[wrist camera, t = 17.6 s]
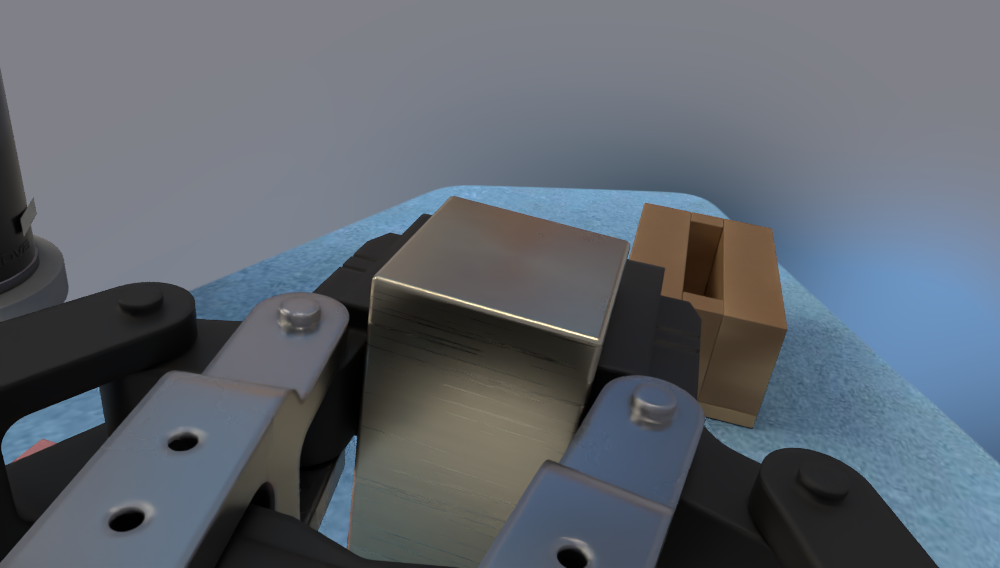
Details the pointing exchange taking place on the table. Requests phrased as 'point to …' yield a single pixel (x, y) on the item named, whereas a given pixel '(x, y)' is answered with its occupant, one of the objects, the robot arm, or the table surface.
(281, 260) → the table surface
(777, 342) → the knife block
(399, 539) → the knife
